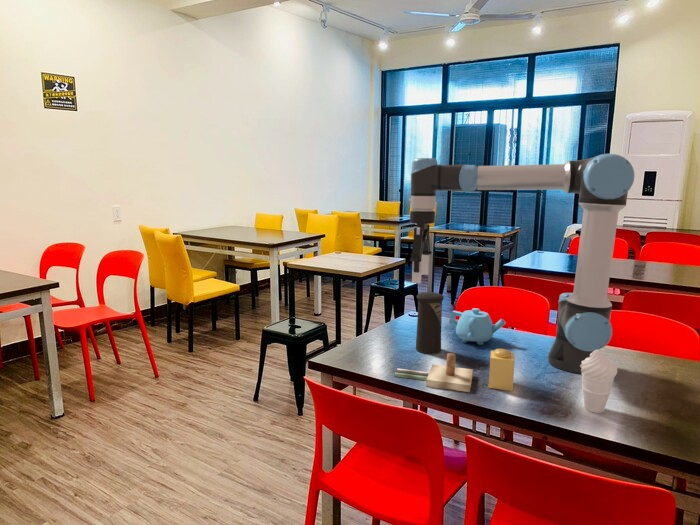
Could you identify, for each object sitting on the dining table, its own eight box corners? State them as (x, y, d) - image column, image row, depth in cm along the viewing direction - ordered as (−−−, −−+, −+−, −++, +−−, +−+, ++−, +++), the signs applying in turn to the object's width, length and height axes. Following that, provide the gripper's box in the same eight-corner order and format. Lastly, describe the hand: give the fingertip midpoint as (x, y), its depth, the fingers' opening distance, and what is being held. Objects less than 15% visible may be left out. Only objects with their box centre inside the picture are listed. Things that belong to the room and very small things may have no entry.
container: (441, 355, 161) (443, 296, 157) (413, 353, 163) (415, 295, 159) (441, 346, 169) (444, 291, 166) (415, 344, 171) (417, 289, 168)
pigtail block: (472, 375, 144) (474, 350, 143) (469, 392, 133) (471, 364, 132) (399, 366, 151) (400, 341, 149) (391, 381, 139) (392, 355, 138)
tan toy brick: (512, 381, 140) (514, 348, 138) (512, 390, 134) (514, 356, 132) (489, 378, 142) (491, 346, 140) (488, 387, 136) (490, 353, 134)
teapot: (442, 343, 173) (444, 311, 171) (454, 330, 188) (455, 300, 186) (500, 352, 165) (502, 318, 163) (507, 338, 180) (509, 307, 178)
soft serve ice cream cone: (601, 401, 128) (607, 344, 125) (619, 417, 120) (626, 355, 117) (570, 402, 128) (575, 344, 125) (586, 417, 119) (592, 355, 117)
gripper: (417, 207, 160) (415, 270, 163) (402, 212, 137) (400, 285, 140) (440, 208, 158) (438, 272, 161) (428, 212, 134) (426, 287, 138)
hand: (420, 278), depth 151 cm, fingers open, 13 cm apart
